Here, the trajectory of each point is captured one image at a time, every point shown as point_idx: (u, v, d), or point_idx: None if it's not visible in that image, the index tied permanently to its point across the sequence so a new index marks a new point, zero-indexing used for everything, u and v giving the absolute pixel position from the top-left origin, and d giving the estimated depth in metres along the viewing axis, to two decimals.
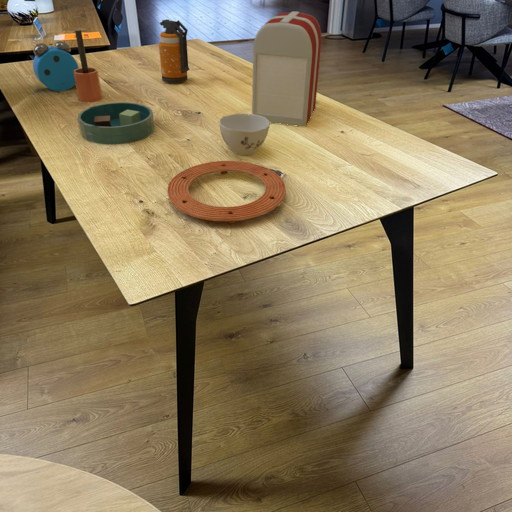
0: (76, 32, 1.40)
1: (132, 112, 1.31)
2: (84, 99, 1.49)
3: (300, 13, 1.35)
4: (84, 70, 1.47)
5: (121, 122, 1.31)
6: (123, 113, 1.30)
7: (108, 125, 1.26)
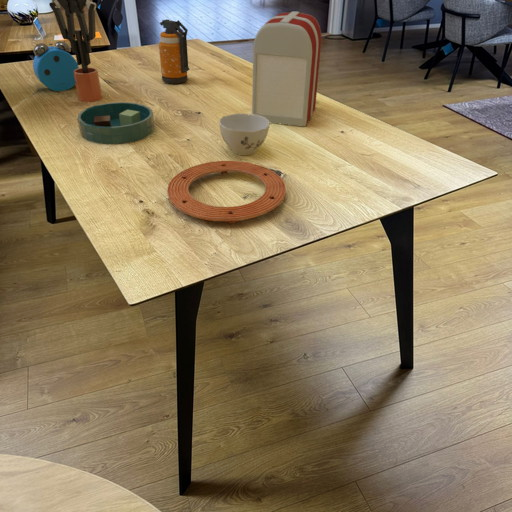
0: (76, 32, 1.40)
1: (132, 112, 1.31)
2: (84, 99, 1.49)
3: (300, 13, 1.35)
4: (84, 70, 1.47)
5: (121, 122, 1.31)
6: (123, 113, 1.30)
7: (108, 125, 1.26)
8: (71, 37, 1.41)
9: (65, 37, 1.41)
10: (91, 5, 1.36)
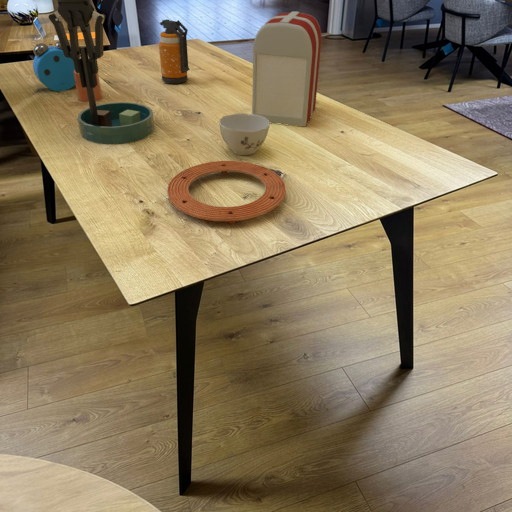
0: (81, 49, 1.18)
1: (132, 112, 1.31)
2: (84, 99, 1.49)
3: (300, 13, 1.35)
4: (89, 94, 1.24)
5: (121, 122, 1.31)
6: (123, 113, 1.30)
7: (102, 119, 1.29)
8: (74, 55, 1.18)
9: (67, 55, 1.18)
10: (98, 17, 1.13)
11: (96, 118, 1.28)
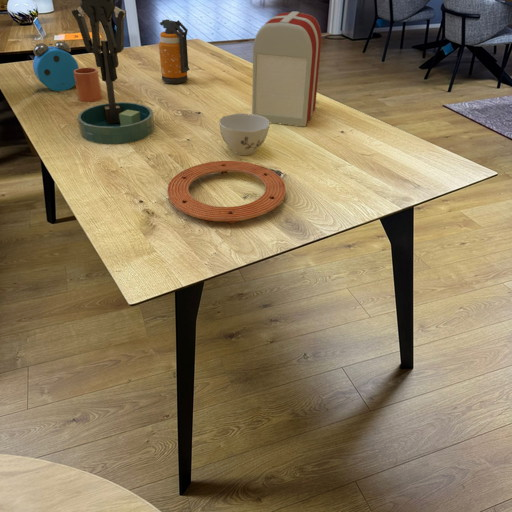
0: (102, 42, 1.22)
1: (132, 112, 1.31)
2: (84, 99, 1.49)
3: (300, 13, 1.35)
4: (108, 87, 1.28)
5: (121, 122, 1.31)
6: (123, 113, 1.30)
7: (119, 112, 1.33)
8: (96, 49, 1.23)
9: (89, 49, 1.23)
10: (120, 13, 1.17)
11: (114, 111, 1.31)
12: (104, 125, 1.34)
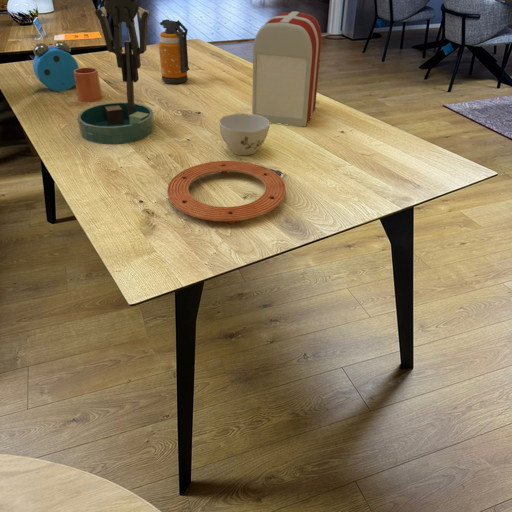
0: (126, 43, 1.21)
1: (142, 114, 1.29)
2: (84, 99, 1.49)
3: (300, 13, 1.35)
4: (129, 88, 1.26)
5: None
6: (133, 115, 1.29)
7: (120, 113, 1.33)
8: (118, 50, 1.21)
9: (111, 50, 1.21)
10: (144, 13, 1.16)
11: (133, 112, 1.30)
12: (104, 125, 1.34)
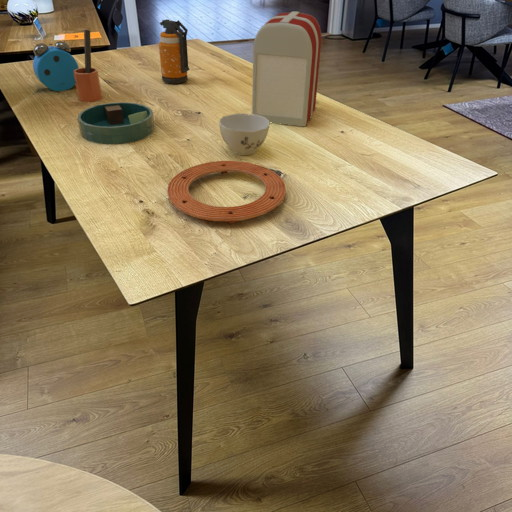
0: (85, 31, 1.46)
1: None
2: (84, 99, 1.49)
3: (300, 13, 1.35)
4: (87, 69, 1.48)
5: (134, 115, 1.27)
6: (143, 115, 1.27)
7: (120, 113, 1.33)
8: None
9: None
10: None
11: None
12: (104, 125, 1.34)
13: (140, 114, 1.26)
